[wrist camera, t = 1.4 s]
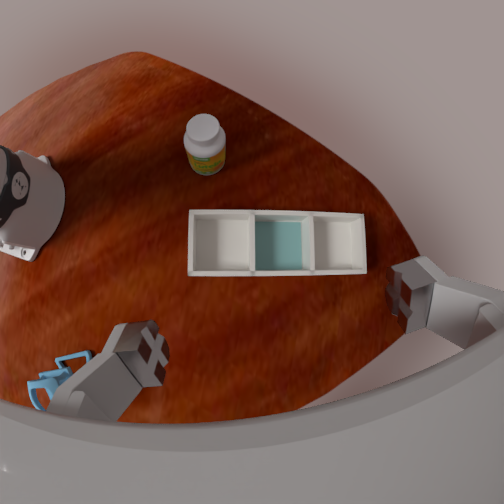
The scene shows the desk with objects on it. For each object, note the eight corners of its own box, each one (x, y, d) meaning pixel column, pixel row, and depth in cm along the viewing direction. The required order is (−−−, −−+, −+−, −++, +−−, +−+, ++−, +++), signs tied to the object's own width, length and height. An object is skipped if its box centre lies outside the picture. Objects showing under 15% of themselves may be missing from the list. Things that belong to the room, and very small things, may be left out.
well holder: (192, 276, 37) (187, 275, 33) (193, 217, 38) (189, 209, 33) (352, 274, 39) (366, 273, 35) (350, 220, 40) (363, 214, 36)
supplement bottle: (193, 180, 38) (184, 151, 29) (186, 148, 39) (177, 114, 29) (229, 171, 39) (230, 140, 29) (221, 140, 39) (220, 105, 30)
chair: (76, 401, 33) (41, 431, 21) (56, 357, 34) (14, 377, 22) (110, 396, 34) (78, 431, 22) (89, 349, 35) (48, 371, 23)
